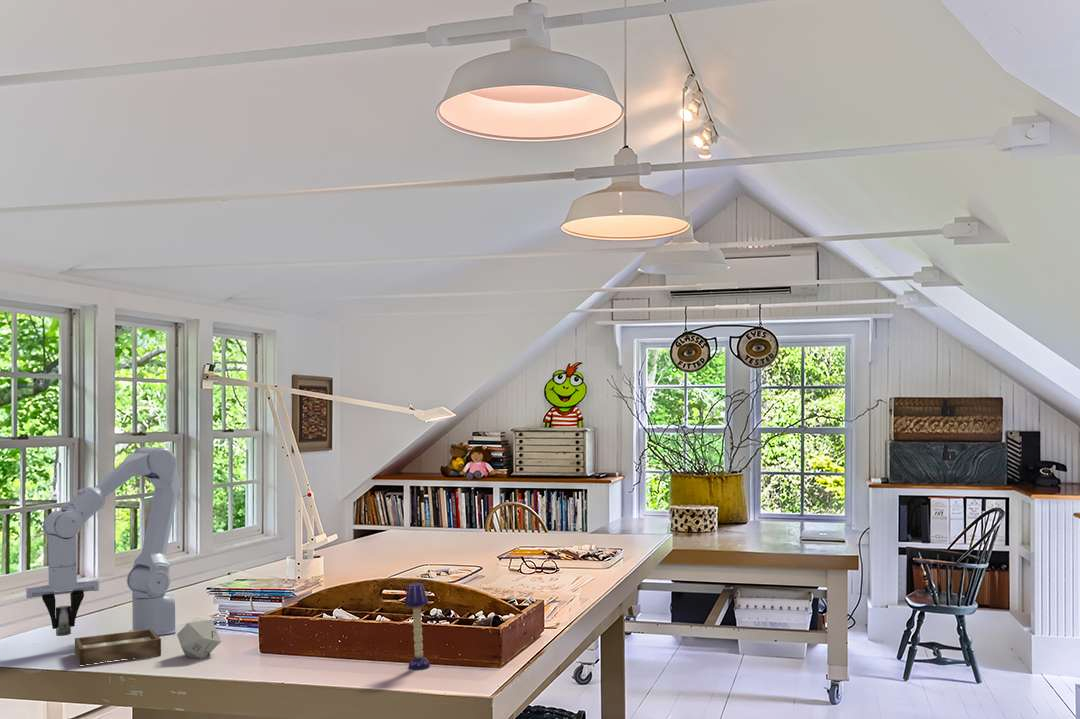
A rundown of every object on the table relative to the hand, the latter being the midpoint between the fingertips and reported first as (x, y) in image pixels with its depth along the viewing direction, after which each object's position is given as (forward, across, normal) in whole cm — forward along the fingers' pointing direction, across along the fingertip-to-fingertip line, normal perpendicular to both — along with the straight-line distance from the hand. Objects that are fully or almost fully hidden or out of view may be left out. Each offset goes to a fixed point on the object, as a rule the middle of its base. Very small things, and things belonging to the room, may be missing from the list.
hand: (63, 626), depth 225 cm
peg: (+2, 0, 0) cm, 2 cm away
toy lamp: (+6, -61, +57) cm, 84 cm away
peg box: (+5, -10, +11) cm, 16 cm away
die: (+6, -25, +22) cm, 34 cm away
